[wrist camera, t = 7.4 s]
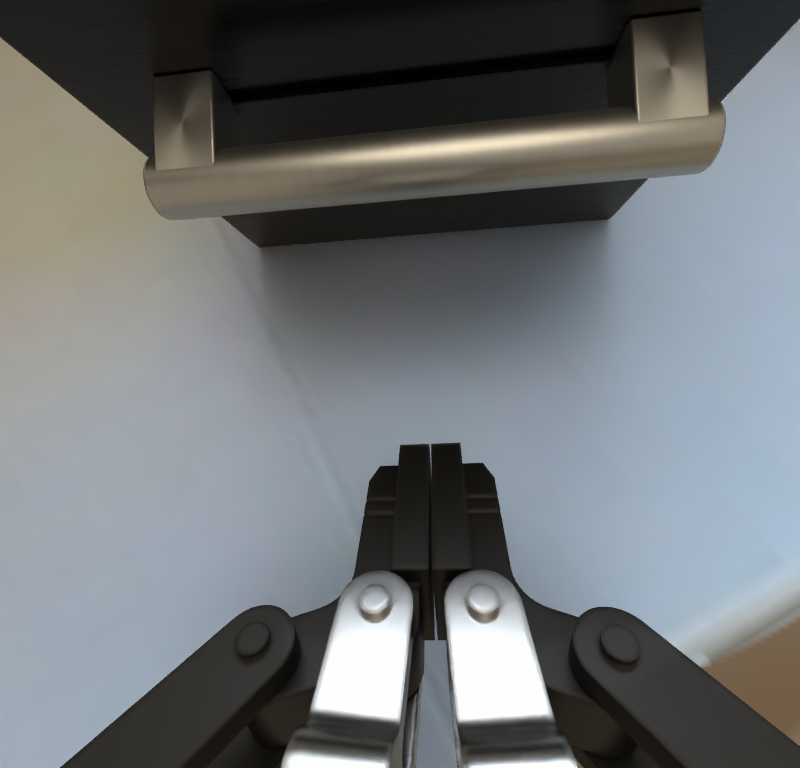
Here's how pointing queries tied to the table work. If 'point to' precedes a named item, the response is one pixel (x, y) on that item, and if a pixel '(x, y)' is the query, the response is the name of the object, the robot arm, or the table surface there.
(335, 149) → the oven door
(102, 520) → the table surface
